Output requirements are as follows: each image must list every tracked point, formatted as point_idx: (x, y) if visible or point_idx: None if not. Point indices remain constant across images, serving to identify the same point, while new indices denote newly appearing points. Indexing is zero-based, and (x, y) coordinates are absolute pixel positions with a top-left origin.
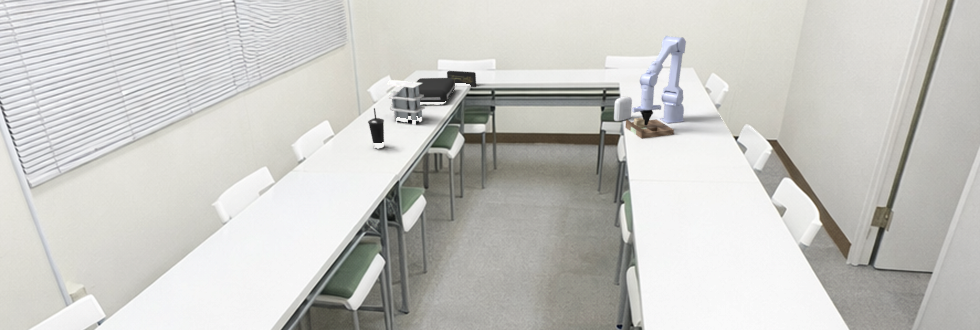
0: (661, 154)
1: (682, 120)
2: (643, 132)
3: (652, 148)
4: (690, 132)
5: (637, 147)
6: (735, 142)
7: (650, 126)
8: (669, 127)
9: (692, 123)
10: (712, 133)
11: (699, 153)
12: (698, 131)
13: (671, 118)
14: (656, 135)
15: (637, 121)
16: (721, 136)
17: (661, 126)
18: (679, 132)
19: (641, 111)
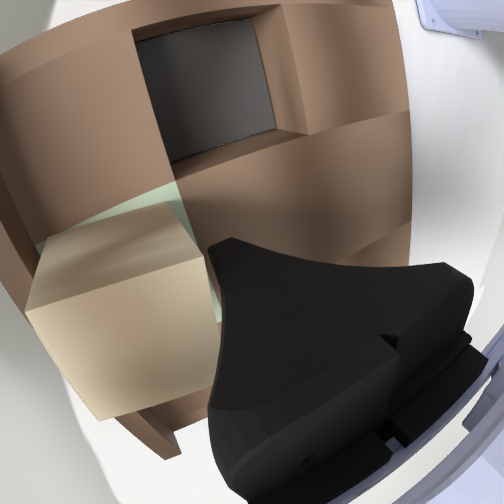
0: (229, 494)
1: (480, 34)
2: (173, 439)
3: (204, 478)
4: (449, 232)
5: (134, 487)
6: (469, 319)
7: (275, 241)
8: (405, 256)
9: (492, 83)
10: (483, 240)
11: None
12: (472, 214)
13: (466, 23)
14: None
15: (111, 404)
16: (480, 271)
17: (371, 233)
18: (418, 235)
19: (245, 494)
